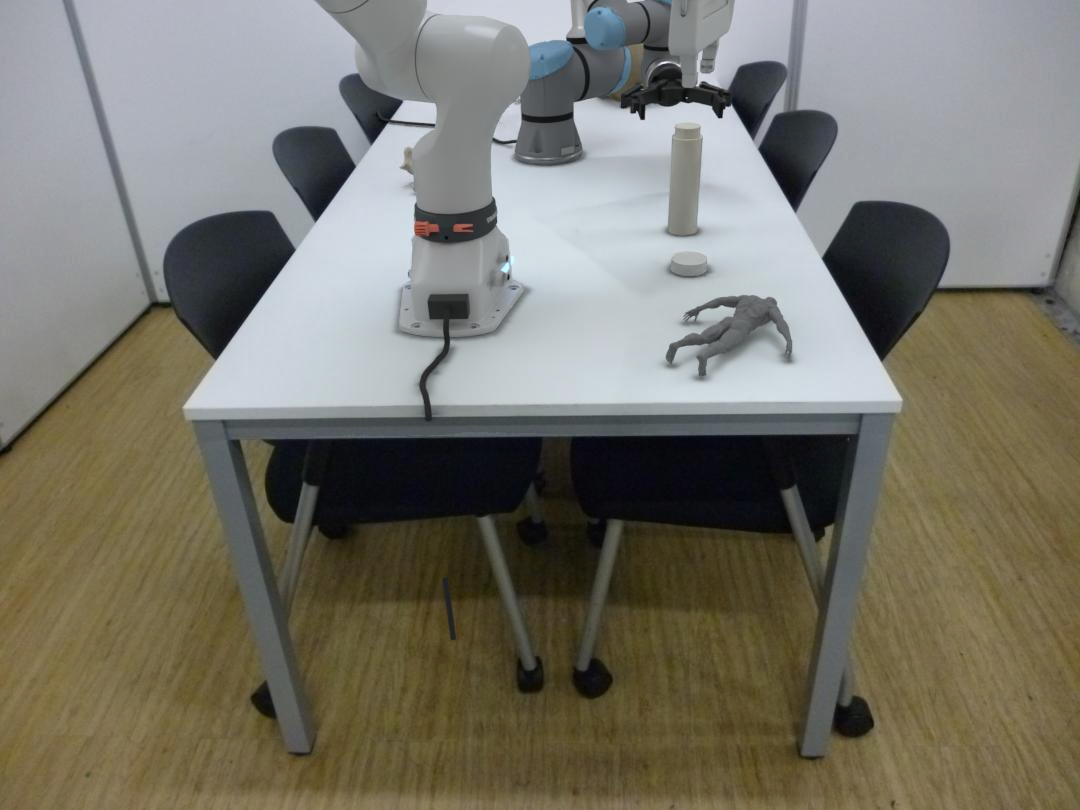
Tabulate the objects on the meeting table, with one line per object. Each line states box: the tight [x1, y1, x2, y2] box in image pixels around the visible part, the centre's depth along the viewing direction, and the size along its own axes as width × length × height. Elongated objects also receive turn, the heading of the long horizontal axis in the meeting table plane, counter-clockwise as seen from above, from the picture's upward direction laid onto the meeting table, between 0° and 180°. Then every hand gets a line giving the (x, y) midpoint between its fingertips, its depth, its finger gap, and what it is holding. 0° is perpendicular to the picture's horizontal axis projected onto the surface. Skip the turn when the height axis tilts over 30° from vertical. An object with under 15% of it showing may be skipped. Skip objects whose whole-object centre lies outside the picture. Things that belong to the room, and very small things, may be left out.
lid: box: [670, 250, 708, 277], centre depth 132 cm, size 6×6×2 cm
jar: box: [667, 121, 704, 237], centre depth 142 cm, size 5×5×18 cm
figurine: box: [665, 294, 793, 377], centre depth 110 cm, size 17×4×20 cm
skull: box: [599, 43, 647, 103], centre depth 227 cm, size 16×22×25 cm
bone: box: [399, 146, 415, 193], centre depth 172 cm, size 10×6×10 cm
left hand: (698, 79), depth 116 cm, fingers open, 8 cm apart
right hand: (682, 111), depth 145 cm, fingers open, 13 cm apart
